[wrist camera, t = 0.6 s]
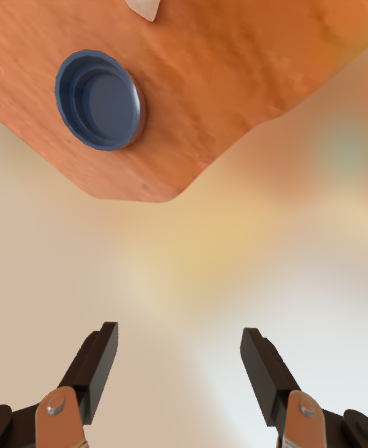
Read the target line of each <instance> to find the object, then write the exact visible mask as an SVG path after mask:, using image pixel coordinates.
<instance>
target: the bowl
mask: <svg viewBox="0 0 368 448" xmlns="http://www.w3.org/2000/svg"><path fill="white" fill-rule="evenodd" d="M55 96H56V101H57V107H58V110H59V112H60V114H61V116H62V119H63V121H64V123H65V124H66V126H67V127H68V128H69V130H70V131H71V132H72V134H73V135H74V136H75V137H77V138H78V139H79V140H80V141H82V142H83V143H84V144H86V145H88V146H90V147H92V148H94V149H97V150H104V151H111V150H116V149H120V148H123V147H126V146H129V145H130V144H132V143H133V142H135V141H136V140H137V139H138V137H139V136H140V135H141V133H142V132H143V129H144V126H145V122H146V103H145V99H144V95H143V92H142V90H141V88H140V86H139V85H138V83H137V81H136V79H135V78H134V77H133V76H132V75H131V74H130V73H129V72H128V71H127V70H126V69H125V68H124V67H123V66H122V65H121V64H120V63H118V62H117V61H116V60H115V59H113V58H112V57H110V56H108V55H106V54H104V53H102V52H100V51H93V50H82V51H79V52H76V53H73V54H71V55H70V56H69V57H68V58H67V59H66V60H65V61H64V62H63V63H62V64H61V67H60V69H59V71H58V74H57V76H56V84H55Z"/></svg>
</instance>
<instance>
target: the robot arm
mask: <svg viewBox="0 0 368 448" xmlns="http://www.w3.org/2000/svg"><path fill="white" fill-rule="evenodd" d="M117 347H118V322H104V324H103V326H102V328H101V330H100V331H93V332H92V333H91V334H90V335H89V336H88V337H87V338H86V339H85V341H84V343H83V344H82V346H81V349H80V350H79V351H78V353H77V356H76V357H75V358H74V360H73V362H72V363H71V365H70V367H69V369H68V370H67V372H66V374H65V376H64V378H63V379H62V381H61V382H60V384H59V386H58V387H57V389H55V390H53V391H52V392H50V393H49V394H48V395H47V396H45V398H44V399H43V400H42V401H41V402H40V403H38V404H36V405H33V406H30V407H27V408H24V409H21V410H18V411H15V412H12V410H11V408H10V406H8V405H0V448H89V445H88V442H87V441H86V439H85V435H84V431H83V426H84V425H91V423H92V420H93V418H94V415H95V412H96V409H97V406H98V403H99V401H100V398H101V395H102V392H103V389H104V386H105V383H106V381H107V378H108V375H109V372H110V369H111V366H112V364H113V361H114V358H115V355H116V352H117ZM240 353H241V358H242V361H243V363H244V366H245V369H246V371H247V374H248V377H249V379H250V382H251V384H252V387H253V390H254V393H255V395H256V398H257V401H258V403H259V406H260V408H261V411H262V414H263V416H264V419H265V422H266V424H267V426H269V427H271V426H273V427H276V429H277V431H278V438H277V445H276V448H368V417H367V416H365V415H364V414H362V413H360V412H358V411H356V410H351V409H348V410H346V411H345V412H344V415H343V416H340V415H338V414H335V413H332V412H329V411H327V410H324V409H322V408H321V407H320V406H319V405H318V403H317V402H316V401H315V400H314V399H313V398H312V397H310V396H309V395H308V394H306V393H304V392H302V391H301V389H300V388H299V386H298V384H297V382H296V381H295V379H294V378H293V376H292V374H291V373H290V371H289V369H288V368H287V366H286V365H285V363H284V362H283V360H282V358H281V356H280V355H279V353H278V351H277V350H276V348H275V346H274V345H273V344H272V343H271V342H270V341H269V340H268V339H267V338H263V337H262V336H261V334H260V332H259V330H258V329H257V328H244V330H243V335H242V341H241V346H240Z"/></svg>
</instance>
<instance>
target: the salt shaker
mask: <svg viewBox="0 0 368 448" xmlns="http://www.w3.org/2000/svg"><path fill="white" fill-rule="evenodd" d="M126 2H127V4H128V6H129V7H130V9H132V10H133V11H135V12H136V13H138V14H139V15H141V16H142V17H144V18H145V19H146V20H148V21H151V22H153V20H154V19H155V16H156V13H157V9H158V6H159V3H160V0H126Z"/></svg>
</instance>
